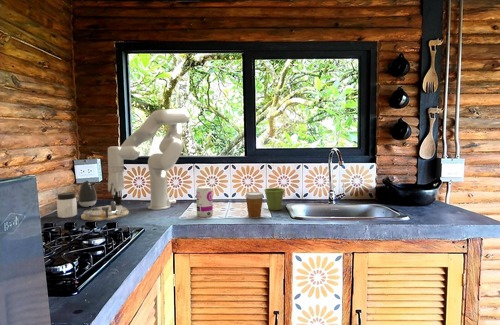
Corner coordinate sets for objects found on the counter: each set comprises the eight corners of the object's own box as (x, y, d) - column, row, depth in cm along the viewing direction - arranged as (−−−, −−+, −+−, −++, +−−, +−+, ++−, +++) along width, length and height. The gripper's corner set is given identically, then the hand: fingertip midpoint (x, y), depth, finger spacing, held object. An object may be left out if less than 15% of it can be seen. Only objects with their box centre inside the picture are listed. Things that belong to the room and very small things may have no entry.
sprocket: (134, 210, 175) (134, 198, 174) (101, 219, 157) (100, 206, 156) (109, 206, 185) (108, 195, 184) (75, 214, 166) (74, 202, 166)
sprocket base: (126, 208, 186) (125, 199, 186) (131, 217, 166) (130, 207, 165) (81, 213, 176) (81, 203, 175) (81, 223, 155) (80, 212, 155)
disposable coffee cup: (252, 213, 172) (252, 191, 171) (267, 215, 167) (267, 192, 166) (241, 216, 164) (241, 193, 163) (256, 219, 159) (256, 195, 158)
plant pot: (279, 206, 188) (279, 187, 187) (288, 210, 177) (288, 190, 176) (261, 207, 185) (260, 188, 184) (268, 212, 173) (268, 191, 173)
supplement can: (215, 214, 170) (215, 186, 169) (207, 218, 162) (206, 188, 161) (202, 213, 173) (202, 185, 172) (193, 216, 166) (193, 187, 165)
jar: (58, 218, 164) (56, 195, 163) (57, 215, 170) (56, 193, 170) (77, 216, 169) (76, 193, 168) (76, 213, 175) (75, 191, 174)
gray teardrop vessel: (92, 207, 188) (91, 182, 187) (75, 208, 189) (73, 182, 187) (100, 204, 199) (99, 179, 197) (84, 204, 199) (82, 180, 198)
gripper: (114, 168, 176) (115, 201, 178) (102, 171, 161) (104, 207, 163) (128, 168, 176) (129, 201, 178) (117, 171, 161) (118, 207, 163)
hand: (117, 204), depth 170 cm, fingers closed
